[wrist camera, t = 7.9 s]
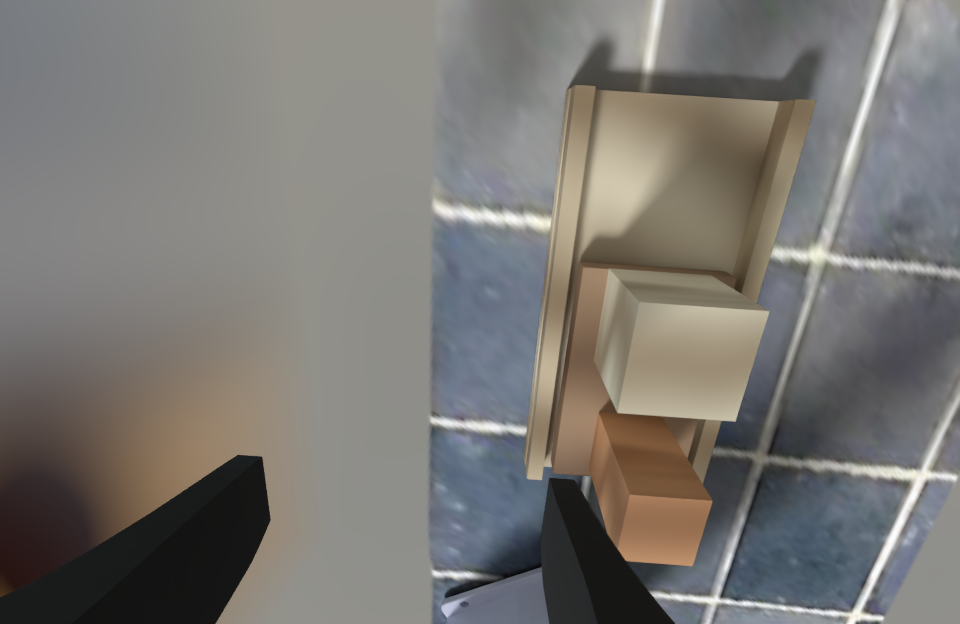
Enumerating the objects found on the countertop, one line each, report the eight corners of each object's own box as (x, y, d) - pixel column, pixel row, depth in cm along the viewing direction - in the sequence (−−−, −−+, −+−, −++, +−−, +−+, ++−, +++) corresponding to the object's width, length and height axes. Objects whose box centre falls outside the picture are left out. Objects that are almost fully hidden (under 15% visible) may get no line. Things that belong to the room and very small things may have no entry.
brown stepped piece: (673, 468, 22) (733, 579, 16) (550, 459, 22) (569, 566, 16) (724, 271, 18) (824, 327, 13) (578, 261, 19) (614, 312, 13)
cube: (688, 366, 19) (735, 421, 15) (593, 359, 19) (617, 412, 15) (711, 275, 18) (769, 311, 14) (608, 268, 18) (639, 302, 14)
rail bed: (686, 466, 23) (701, 491, 21) (523, 454, 23) (525, 478, 22) (786, 104, 17) (817, 100, 15) (566, 90, 17) (574, 84, 16)
